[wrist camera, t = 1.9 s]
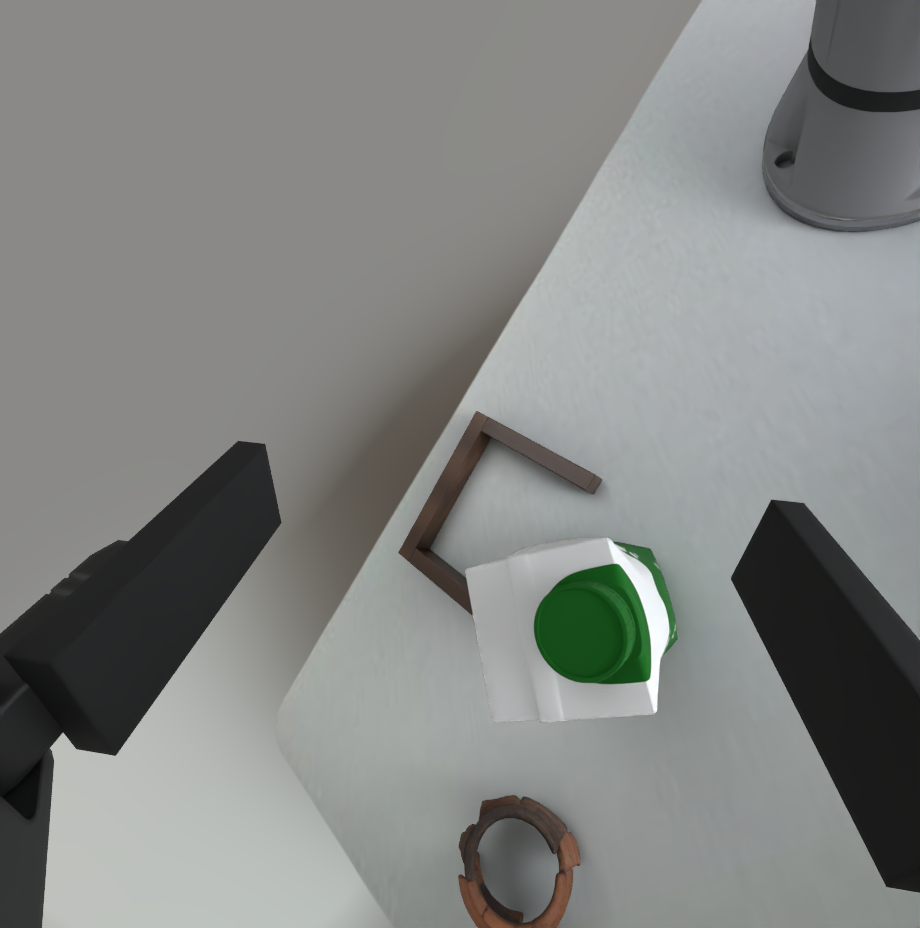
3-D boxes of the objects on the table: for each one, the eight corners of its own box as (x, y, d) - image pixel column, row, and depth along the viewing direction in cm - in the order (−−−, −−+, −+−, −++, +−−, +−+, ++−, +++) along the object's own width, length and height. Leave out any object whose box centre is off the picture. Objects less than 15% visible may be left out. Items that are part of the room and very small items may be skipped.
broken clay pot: (454, 816, 41) (434, 818, 35) (551, 777, 42) (550, 771, 35) (501, 1012, 34) (487, 1061, 27) (619, 961, 34) (633, 998, 28)
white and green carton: (694, 650, 34) (670, 749, 17) (576, 663, 38) (460, 754, 21) (659, 534, 37) (606, 516, 19) (552, 557, 40) (429, 559, 23)
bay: (487, 417, 46) (476, 410, 44) (602, 479, 39) (595, 475, 37) (412, 552, 48) (398, 552, 45) (510, 634, 41) (499, 638, 39)
